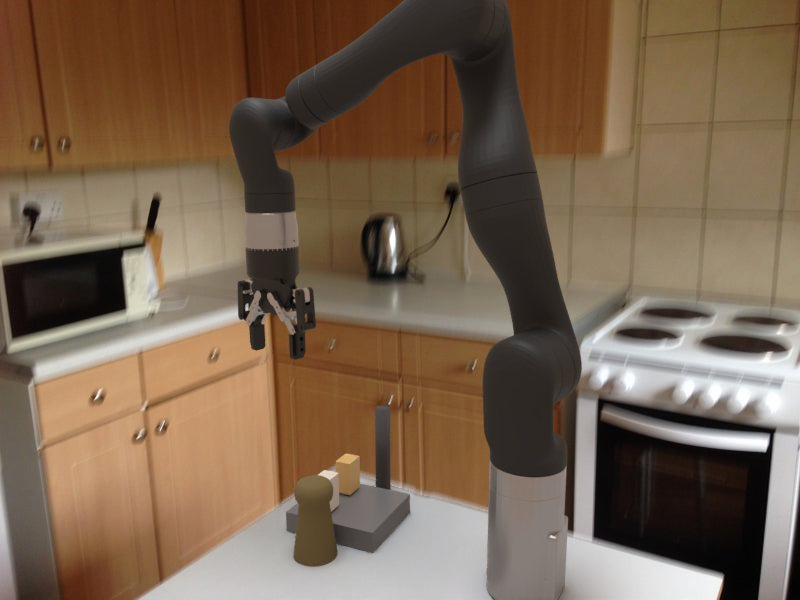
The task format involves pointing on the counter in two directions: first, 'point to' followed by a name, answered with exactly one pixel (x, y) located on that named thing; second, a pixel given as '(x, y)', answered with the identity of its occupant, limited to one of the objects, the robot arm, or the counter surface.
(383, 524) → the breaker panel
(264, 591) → the counter surface
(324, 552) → the olive knobbed post
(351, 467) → the block
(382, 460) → the post
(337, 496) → the cream rectangular block
